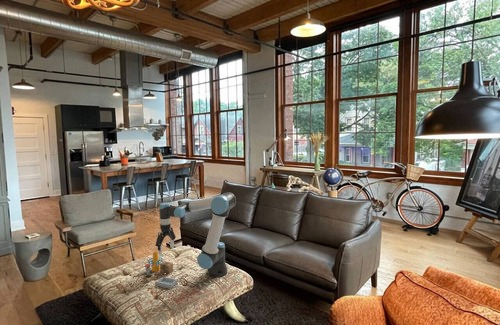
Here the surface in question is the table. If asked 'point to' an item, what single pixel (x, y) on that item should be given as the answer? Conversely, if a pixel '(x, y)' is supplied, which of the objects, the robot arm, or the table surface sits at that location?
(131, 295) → the table surface
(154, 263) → the cylinder
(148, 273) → the pin
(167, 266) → the block
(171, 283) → the tray
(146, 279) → the socket block
